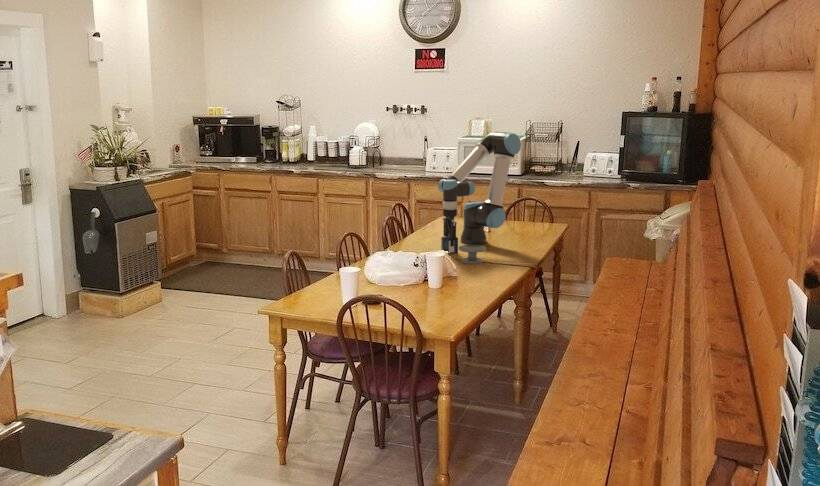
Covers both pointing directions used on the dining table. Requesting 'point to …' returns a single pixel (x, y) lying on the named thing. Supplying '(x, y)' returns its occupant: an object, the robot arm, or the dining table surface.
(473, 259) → the cake stand
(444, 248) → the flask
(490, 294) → the dining table surface
